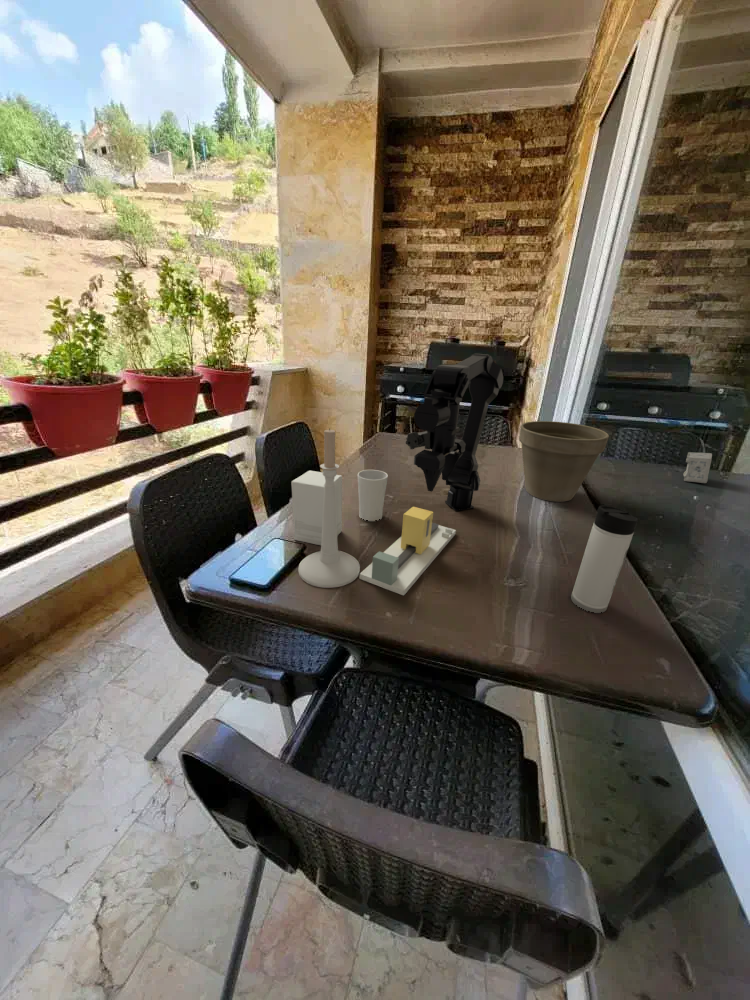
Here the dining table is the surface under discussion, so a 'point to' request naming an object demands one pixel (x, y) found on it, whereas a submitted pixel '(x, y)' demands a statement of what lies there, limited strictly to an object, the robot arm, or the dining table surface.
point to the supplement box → (313, 506)
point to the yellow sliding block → (416, 529)
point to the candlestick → (329, 535)
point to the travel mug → (603, 558)
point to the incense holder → (697, 467)
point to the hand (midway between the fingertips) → (437, 485)
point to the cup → (371, 493)
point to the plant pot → (558, 457)
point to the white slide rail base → (405, 562)
